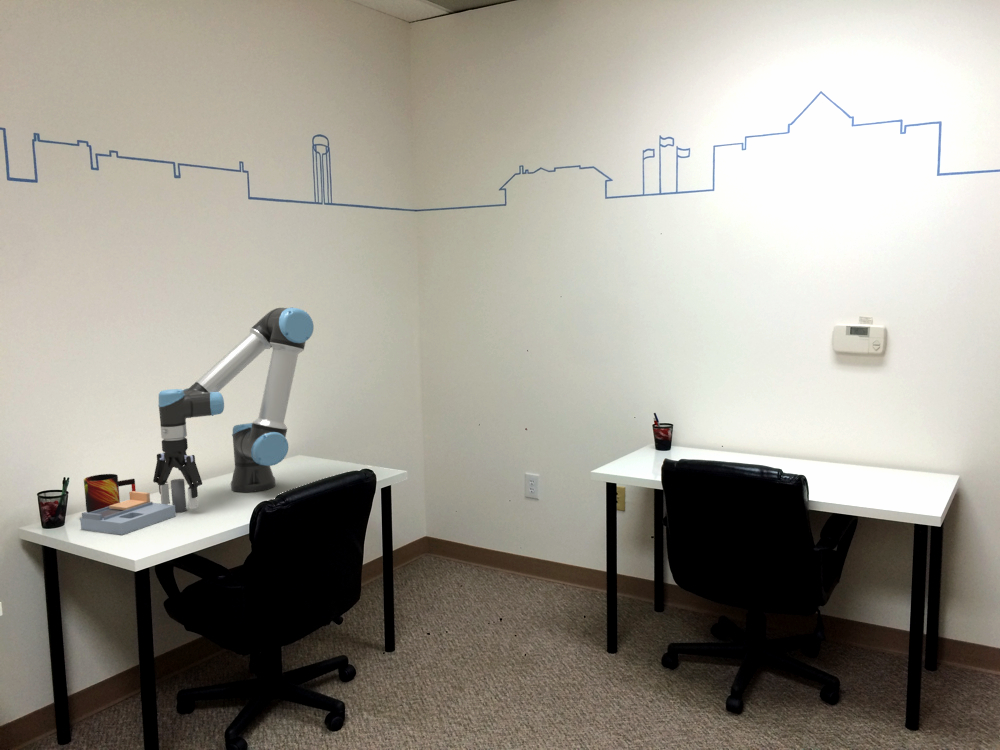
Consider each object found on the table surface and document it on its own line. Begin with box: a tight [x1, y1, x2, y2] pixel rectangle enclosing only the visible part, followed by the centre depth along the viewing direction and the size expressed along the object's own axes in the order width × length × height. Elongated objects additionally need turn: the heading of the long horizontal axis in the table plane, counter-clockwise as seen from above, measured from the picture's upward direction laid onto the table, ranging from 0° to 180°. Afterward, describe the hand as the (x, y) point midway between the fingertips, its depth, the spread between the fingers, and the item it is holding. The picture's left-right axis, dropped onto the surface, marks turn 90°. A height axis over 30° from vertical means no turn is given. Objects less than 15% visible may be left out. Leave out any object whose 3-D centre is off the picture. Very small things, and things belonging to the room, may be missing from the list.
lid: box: [109, 490, 151, 510], centre depth 247 cm, size 9×7×3 cm
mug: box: [83, 473, 137, 513], centre depth 254 cm, size 10×14×12 cm
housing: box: [79, 501, 177, 536], centre depth 242 cm, size 20×17×5 cm
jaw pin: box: [170, 478, 187, 514], centre depth 254 cm, size 4×4×10 cm
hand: (179, 506), depth 254 cm, fingers open, 11 cm apart
